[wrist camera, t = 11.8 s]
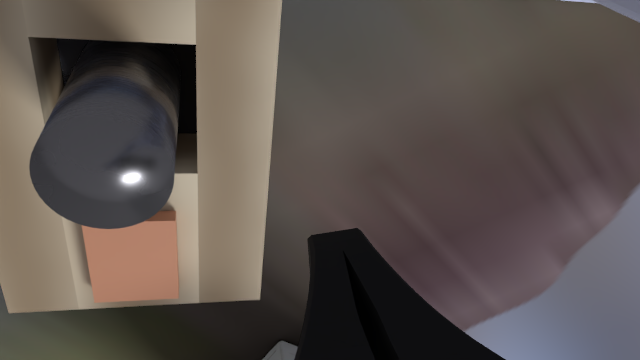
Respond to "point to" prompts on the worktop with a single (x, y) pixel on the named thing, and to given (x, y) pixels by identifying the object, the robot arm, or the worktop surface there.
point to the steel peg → (111, 136)
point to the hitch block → (191, 151)
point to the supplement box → (282, 352)
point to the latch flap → (134, 260)
